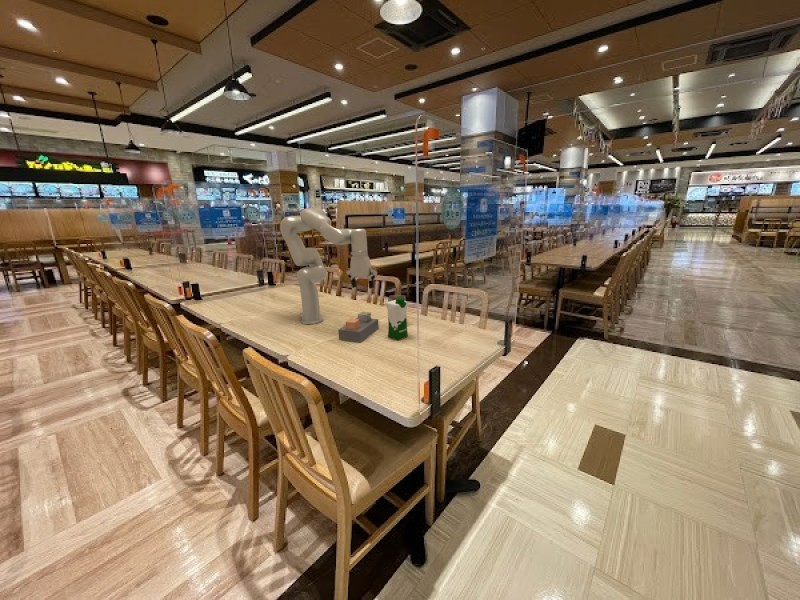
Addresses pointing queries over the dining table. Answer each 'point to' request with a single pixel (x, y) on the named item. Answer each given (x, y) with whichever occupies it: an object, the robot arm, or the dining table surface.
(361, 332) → the button box
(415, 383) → the dining table surface
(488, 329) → the dining table surface
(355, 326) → the terracotta plunger
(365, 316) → the metal plunger
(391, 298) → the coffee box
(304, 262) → the robot arm
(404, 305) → the milk carton
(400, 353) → the dining table surface
